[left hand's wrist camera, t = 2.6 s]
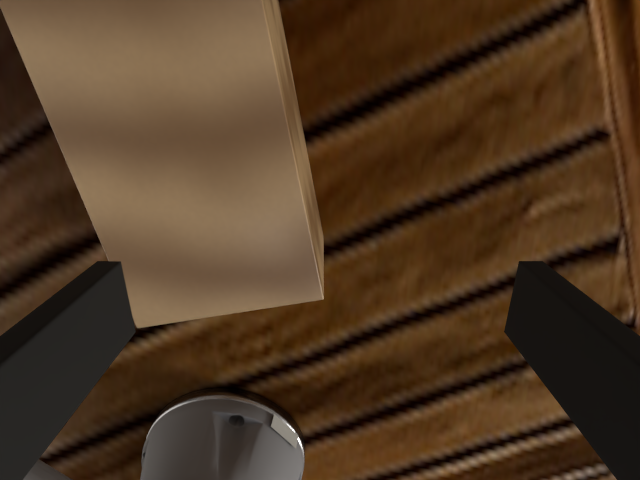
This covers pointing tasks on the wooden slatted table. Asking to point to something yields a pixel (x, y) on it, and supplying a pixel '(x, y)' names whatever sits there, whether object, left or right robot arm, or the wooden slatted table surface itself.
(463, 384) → the wooden slatted table surface
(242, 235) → the cabinet
